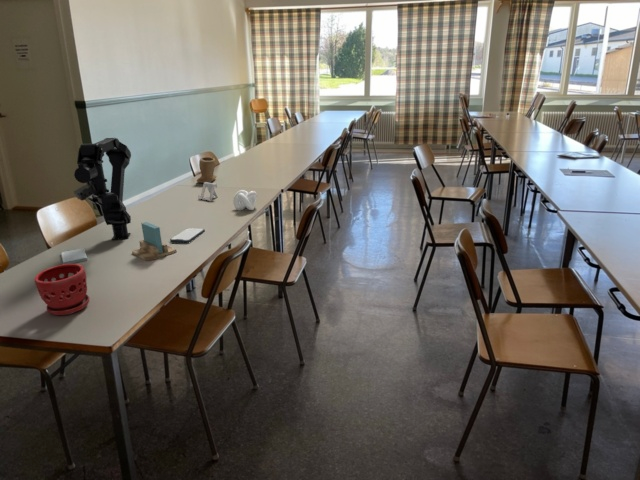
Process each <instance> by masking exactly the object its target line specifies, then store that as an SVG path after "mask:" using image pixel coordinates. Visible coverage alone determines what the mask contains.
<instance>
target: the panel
mask: <svg viewBox="0 0 640 480" xmlns="http://www.w3.org/2000/svg"><path fill="white" fill-rule="evenodd" d="M160 228H161V227H159V226H158V225H155V224H153V223H150V222H147V221H145V222H141V229H142V236H143V240H144V242H147V243H149V244H151V245H153V246H155V247H158V252H159V253H162V252H163V248H162V243H163V241H162V235H161V229H160Z"/></svg>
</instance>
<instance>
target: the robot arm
mask: <svg viewBox="0 0 640 480" xmlns="http://www.w3.org/2000/svg"><path fill="white" fill-rule="evenodd" d="M77 154H78V155H77V162H76V163H77V167H78V168H76V169H75V171H74V174H73V177H74V178H75V180H76V181H77V182H78V183H81V184H85V185H82V186H81V187H79V188H77V189H76V190H73V194H74V195H75V196H76V198H77V200H80V201H85V200H88V201H89V202H91V203H93V204H94V207H95V208H96V210H97V212H98V214H99V216H100V217H103V219H104V221H105V224H106V225H107V226H110V225H111V229H112V234H113V236H112V237H111V240H112V241H113V240H114V241H115V240H127V239H129V237H130V236H131V235H132V234H131V232H129V231H128V226H127V225H128V224H131V220H132V217H131V215H130V214H129V213H128V211H127V207H126V206H125V204H124V202H123V199H124V185H125V170H126V168H127V167H128V166H129V165H130V160H131V158H132V153H131V151H130V148H129V147H128V146H127V145H126V144H124V143H123V142H121V141H120V140H119V139H118V138H116V137H105V138H104V139H102V140H99V141H97V142H95V143H81V144H80V147H79V148H78V153H77ZM105 155H106V156H107V157H108V161H109V163H110V164H111V167H112V168H111V169H112V170H111V181H110V190H109V189H108V188H107V184H106V182H108V179H107V178H105V173H104V169H103V167H104V166H103V163H104V160H103V157H104V156H105Z"/></svg>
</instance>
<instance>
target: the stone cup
mask: <svg viewBox="0 0 640 480" xmlns="http://www.w3.org/2000/svg"><path fill="white" fill-rule="evenodd" d="M198 161H199V162H198V163H199V165H198V166H199V170H200V171H199V172H200V174H201V176H200V177H198V178H197V179H196V182H197V183H203V184H204V182H208V183H212V182H213V181H215V179H216V178H217V175H215V174H214V172H215V168H216V159H215V158H214V157H212V156H202V157H200V159H199V160H198Z"/></svg>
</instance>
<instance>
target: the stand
mask: <svg viewBox="0 0 640 480" xmlns="http://www.w3.org/2000/svg"><path fill="white" fill-rule="evenodd" d="M139 247H140V248H138V249H135V250H131V252H132V253H131V254H132V255H135V256H136V257H138V258H140V259H143V260H144V261H147V262H150V261H152V260H156V259H160V258H163V257H166V256H168V254H169V255H172V254H175V253H177V252H178V251H177V248H173V247H172V246H170V245H168V244H167V243H164V242H162V248H163V252H162V253H159V252H158V247H155V246H153V245H151V244H149V243H147V242H144V239H143V240H139ZM174 252H175V253H174ZM171 253H172V254H171ZM165 255H166V256H165ZM162 256H163V257H162ZM159 257H160V258H159Z"/></svg>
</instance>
